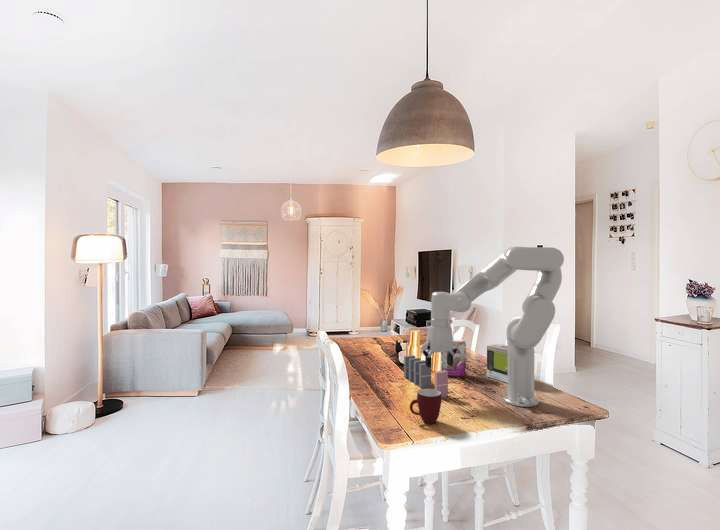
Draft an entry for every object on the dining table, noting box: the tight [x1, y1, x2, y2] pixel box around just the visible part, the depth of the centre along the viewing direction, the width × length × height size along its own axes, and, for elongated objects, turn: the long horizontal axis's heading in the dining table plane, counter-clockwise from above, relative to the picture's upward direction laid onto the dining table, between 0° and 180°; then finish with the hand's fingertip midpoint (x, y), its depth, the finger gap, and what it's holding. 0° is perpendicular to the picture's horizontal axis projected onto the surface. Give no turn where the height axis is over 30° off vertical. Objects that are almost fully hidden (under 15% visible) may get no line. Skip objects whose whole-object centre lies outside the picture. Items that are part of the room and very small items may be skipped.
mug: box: [409, 388, 443, 425], centre depth 133 cm, size 10×8×10 cm
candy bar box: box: [440, 339, 467, 377], centre depth 186 cm, size 11×5×16 cm, turn 84°
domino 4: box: [418, 363, 432, 389], centre depth 169 cm, size 2×5×10 cm, turn 110°
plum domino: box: [434, 370, 449, 398], centre depth 157 cm, size 2×5×10 cm, turn 110°
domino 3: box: [413, 359, 426, 386], centre depth 173 cm, size 2×5×10 cm, turn 110°
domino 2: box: [408, 357, 421, 383], centre depth 178 cm, size 2×5×10 cm, turn 110°
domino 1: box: [403, 354, 416, 379], centre depth 182 cm, size 2×5×10 cm, turn 110°
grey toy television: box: [486, 343, 508, 384], centre depth 179 cm, size 15×10×15 cm, turn 28°
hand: (439, 365), depth 157 cm, fingers open, 9 cm apart
